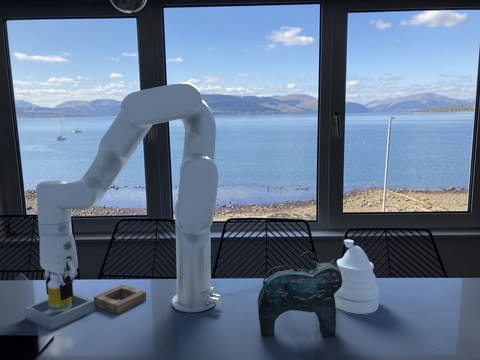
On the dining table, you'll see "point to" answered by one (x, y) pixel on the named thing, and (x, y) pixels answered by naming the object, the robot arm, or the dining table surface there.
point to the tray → (55, 320)
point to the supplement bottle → (56, 294)
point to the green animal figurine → (300, 295)
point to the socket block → (117, 307)
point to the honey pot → (357, 282)
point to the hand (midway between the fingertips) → (59, 294)
